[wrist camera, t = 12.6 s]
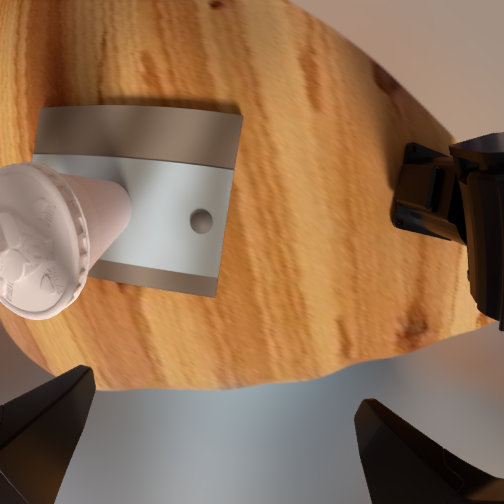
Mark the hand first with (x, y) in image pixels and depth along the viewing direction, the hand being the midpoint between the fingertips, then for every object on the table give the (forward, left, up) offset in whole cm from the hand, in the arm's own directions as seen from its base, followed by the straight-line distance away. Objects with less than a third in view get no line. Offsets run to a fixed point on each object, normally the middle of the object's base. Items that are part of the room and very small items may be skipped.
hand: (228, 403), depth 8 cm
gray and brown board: (+8, -4, -13) cm, 16 cm away
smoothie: (+9, -3, -12) cm, 15 cm away
